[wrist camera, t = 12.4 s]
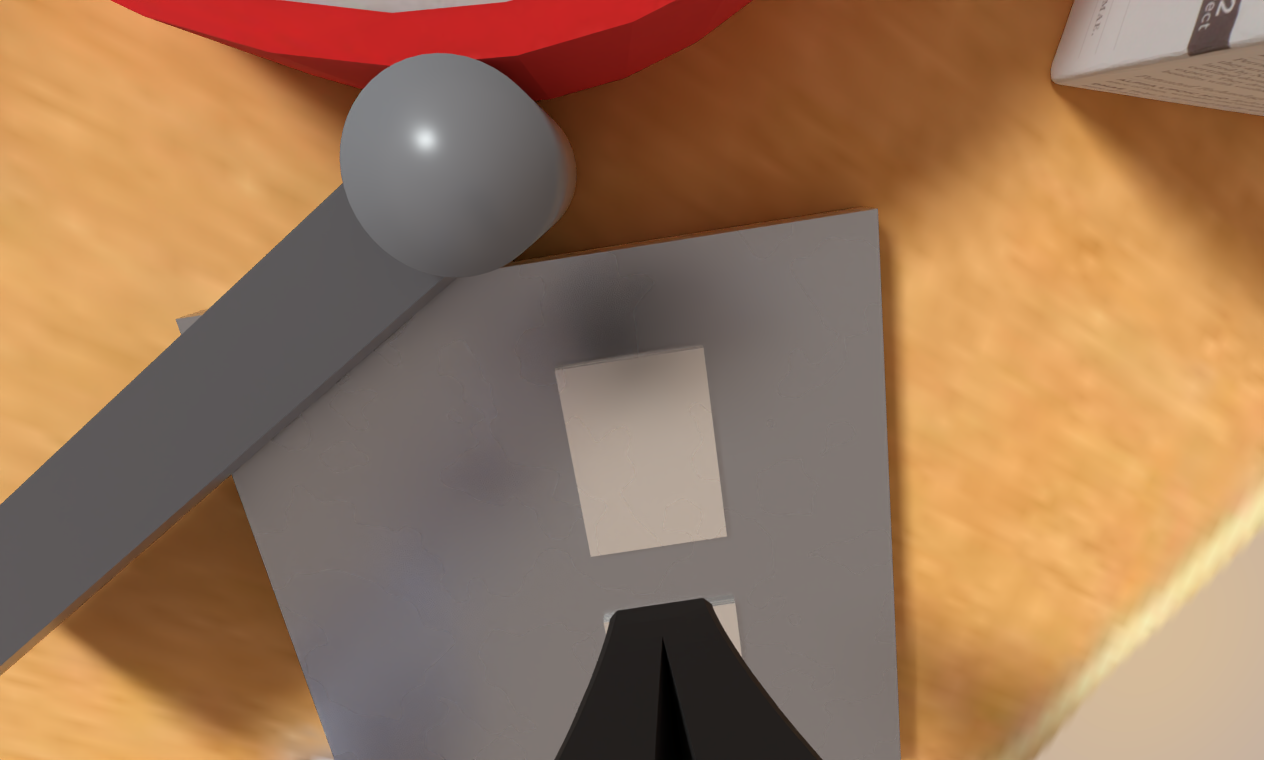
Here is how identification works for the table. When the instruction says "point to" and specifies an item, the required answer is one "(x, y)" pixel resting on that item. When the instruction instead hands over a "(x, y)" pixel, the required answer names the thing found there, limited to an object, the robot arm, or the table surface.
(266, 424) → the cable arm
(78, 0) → the table surface
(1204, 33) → the skincare box
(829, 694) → the plate
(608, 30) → the toy clock
